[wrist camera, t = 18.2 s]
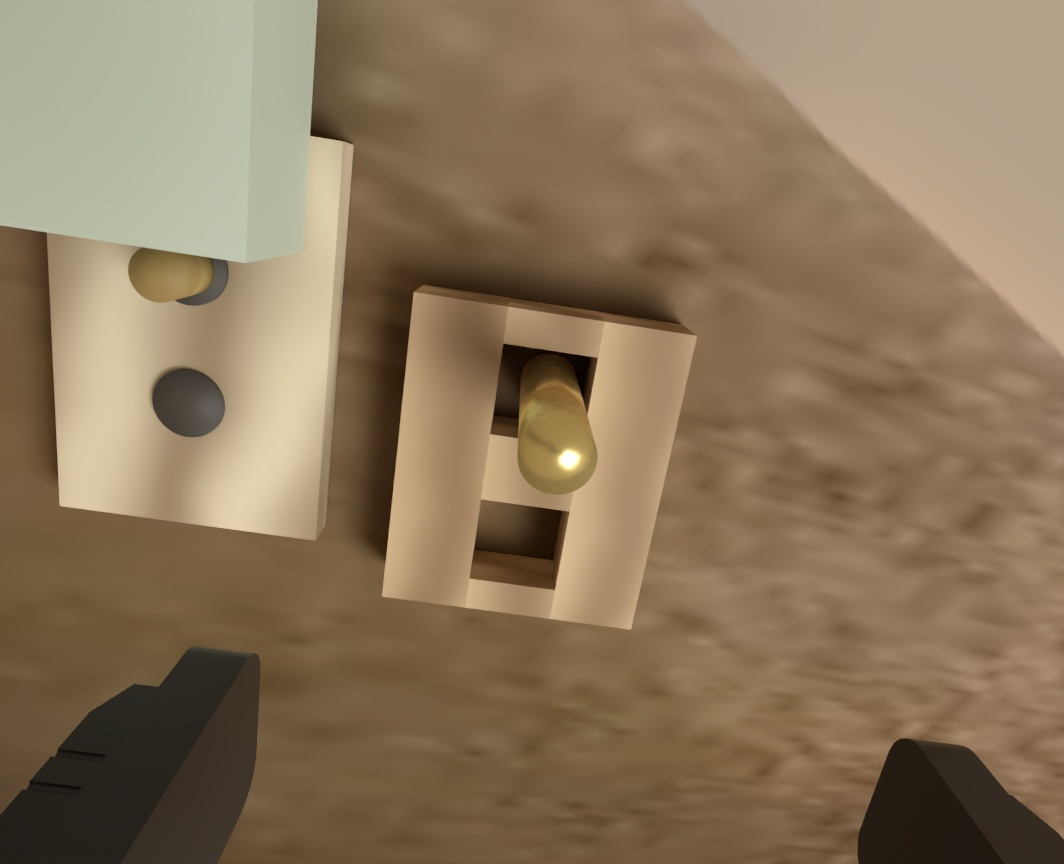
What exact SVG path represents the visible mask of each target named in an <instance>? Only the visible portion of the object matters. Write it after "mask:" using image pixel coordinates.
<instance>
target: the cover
mask: <svg viewBox="0 0 1064 864" xmlns="http://www.w3.org/2000/svg"><path fill="white" fill-rule="evenodd" d="M317 5H318V0H0V225H2V226H9V227H15V228H22V229H28V230H34V231H41V232H47V233H54V234H60V235H67V236H73V237H80V238H86V239H93V240H99V241H105V242H112V243H118V244H125V245H131V246H138V247H144V248H151V249H157V250H164V251H170V252H177V253H183V254H189V255H196V256H202V257H209V258H215V259H222V260H228V261H235V262H241V263H249V262H254V261H259V260H264V259H269V258H274V257H279V256H284V255H289V254H294V253H299V252H304V234H305V217H306V199H307V181H308V164H309V146H310V129H311V111H312V93H313V76H314V58H315V40H316V23H317Z"/></svg>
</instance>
